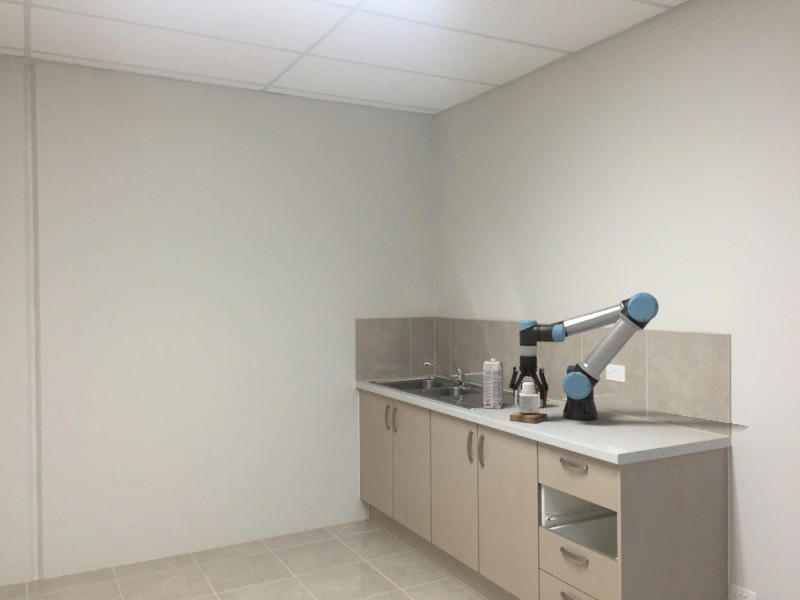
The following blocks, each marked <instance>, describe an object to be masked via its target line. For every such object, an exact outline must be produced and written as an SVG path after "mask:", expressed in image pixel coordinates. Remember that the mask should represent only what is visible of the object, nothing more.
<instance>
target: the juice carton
mask: <svg viewBox="0 0 800 600" xmlns="http://www.w3.org/2000/svg"><path fill="white" fill-rule="evenodd" d="M482 366H483V367H482V403H483V407H484V409H485V408H492V409H491V410H501V409H502V407H503V404H504V366H503V361H502V360H497V358H495V357H494V358H490V360H487V359H486V360H484V361H483V365H482Z"/></svg>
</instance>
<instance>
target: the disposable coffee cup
mask: <svg viewBox="0 0 800 600" xmlns="http://www.w3.org/2000/svg"><path fill="white" fill-rule="evenodd" d="M532 382H534V380H533V381H532ZM540 382H541V380H540ZM546 382H547V386H548V388H549V386H550V384H549V382H548V381H546ZM541 384H542V383H541ZM548 391H549V389H548V390H547V391H545V392H544V399H543V400H542V407H539V409H545V408H546V407H547V400H548ZM538 392H540V391H539V389H538V387H537V385H536V392H535V393H537V394H538Z"/></svg>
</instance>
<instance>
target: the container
mask: <svg viewBox="0 0 800 600" xmlns="http://www.w3.org/2000/svg"><path fill="white" fill-rule="evenodd" d="M535 392H536V383H535V382H533V381H530V380H528V381H522V382H521V384H520V391H519V405H518V410H519V412H521V413H540V411H539V409H540V408H539V407H538V394H537V393H535Z"/></svg>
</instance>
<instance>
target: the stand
mask: <svg viewBox="0 0 800 600" xmlns="http://www.w3.org/2000/svg"><path fill="white" fill-rule="evenodd" d="M547 420H548V413H544V412H543V413H542V412H538V413H521V412H520V411H518V412H515V413H512V414H509V421H510V422H519V423H525V424H535V425H536V424H538V423H542V422H544V421H547Z"/></svg>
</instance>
